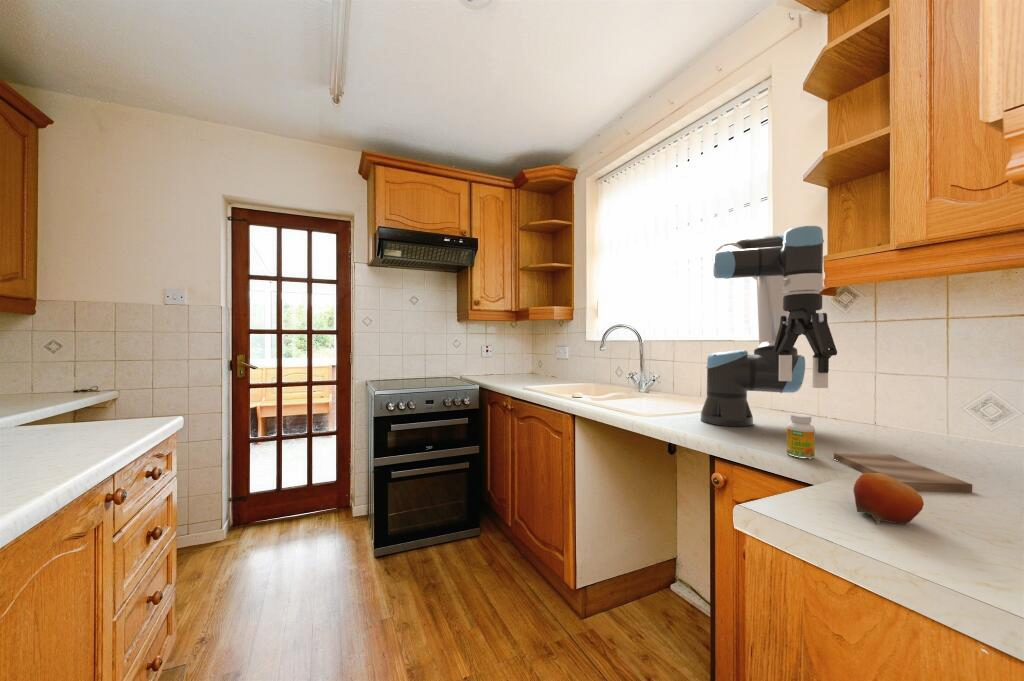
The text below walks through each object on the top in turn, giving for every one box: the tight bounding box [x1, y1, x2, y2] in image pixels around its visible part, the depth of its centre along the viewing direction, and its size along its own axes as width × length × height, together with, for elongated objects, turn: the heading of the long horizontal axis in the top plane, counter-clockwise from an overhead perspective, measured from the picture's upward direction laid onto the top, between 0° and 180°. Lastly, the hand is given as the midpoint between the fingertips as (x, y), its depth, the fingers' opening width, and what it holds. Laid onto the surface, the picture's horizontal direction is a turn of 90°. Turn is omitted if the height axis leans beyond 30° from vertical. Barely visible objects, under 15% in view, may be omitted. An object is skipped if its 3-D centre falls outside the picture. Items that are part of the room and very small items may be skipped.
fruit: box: [853, 473, 925, 526], centre depth 63 cm, size 8×8×8 cm
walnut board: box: [833, 452, 973, 493], centre depth 83 cm, size 18×12×2 cm, turn 174°
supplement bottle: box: [786, 413, 816, 459], centre depth 95 cm, size 5×5×10 cm
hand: (801, 384), depth 95 cm, fingers open, 13 cm apart
